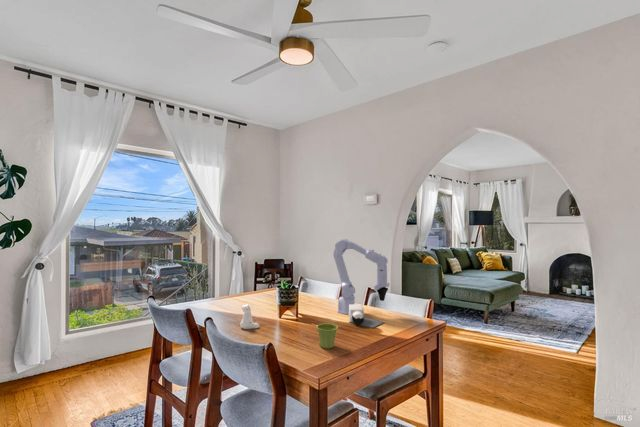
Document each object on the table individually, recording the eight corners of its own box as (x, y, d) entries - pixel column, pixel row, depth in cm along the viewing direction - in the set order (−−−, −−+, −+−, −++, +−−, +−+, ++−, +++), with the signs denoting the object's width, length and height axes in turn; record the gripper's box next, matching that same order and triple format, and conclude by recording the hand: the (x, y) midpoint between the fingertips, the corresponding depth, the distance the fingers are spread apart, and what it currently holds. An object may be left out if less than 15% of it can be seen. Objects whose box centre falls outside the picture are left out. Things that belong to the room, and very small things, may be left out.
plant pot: (336, 342, 158) (336, 323, 158) (338, 350, 149) (338, 330, 149) (316, 342, 158) (316, 323, 158) (316, 350, 148) (316, 330, 148)
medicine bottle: (361, 316, 194) (364, 326, 183) (348, 316, 194) (351, 326, 182) (361, 304, 193) (365, 313, 181) (348, 304, 193) (351, 313, 181)
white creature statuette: (260, 327, 179) (260, 304, 179) (245, 331, 173) (245, 307, 173) (251, 323, 186) (251, 301, 186) (236, 326, 180) (236, 303, 180)
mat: (348, 322, 188) (348, 321, 188) (360, 317, 197) (360, 316, 197) (373, 328, 178) (373, 327, 178) (384, 322, 188) (384, 321, 188)
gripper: (382, 279, 194) (382, 303, 194) (393, 276, 205) (393, 299, 205) (371, 278, 198) (371, 301, 198) (383, 274, 210) (383, 297, 209)
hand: (382, 300), depth 202 cm, fingers closed
